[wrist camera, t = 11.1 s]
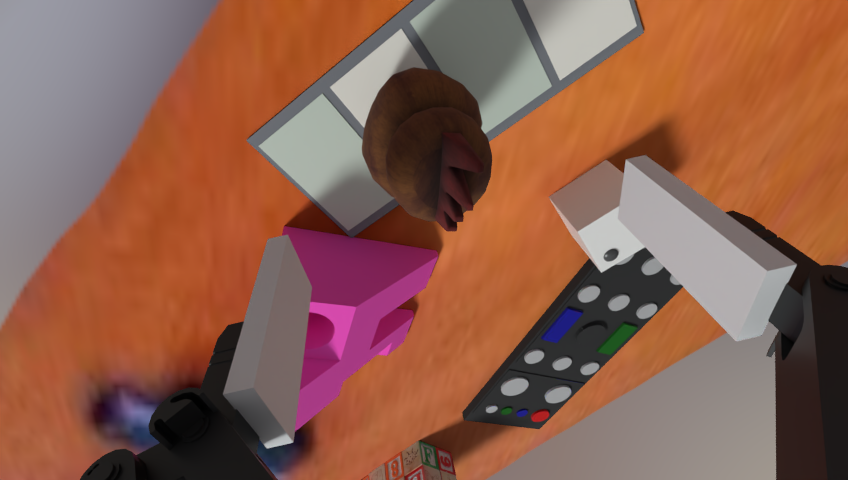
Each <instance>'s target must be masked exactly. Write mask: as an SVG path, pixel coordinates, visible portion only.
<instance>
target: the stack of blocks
mask: <svg viewBox="0 0 848 480" xmlns="http://www.w3.org/2000/svg"><path fill="white" fill-rule="evenodd" d="M361 480H457V479H456V474H455V469H454V465H453V460H452V455H451V453H450V452H448V451H445V450H442V449H440V448H437V447H434V446H431V445H429V444H426V443H424V442H421V441H417V442H416V443H414V444H413V445H411V446H410V447H408V448H407V449H405V450H404V451H402V452H400V453H398V454H397V455H396V456H394V457H393V458H391V459H390V460H388V461H387V462H385V463H384V464H382V465H381V466H379V467H378V468H376V469H375V470H373V471H372V472H371V473H370V474H369V475H367V476H366V477H364V478H363V479H361Z"/></svg>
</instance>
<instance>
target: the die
mask: <svg viewBox="0 0 848 480" xmlns="http://www.w3.org/2000/svg"><path fill="white" fill-rule="evenodd" d="M623 176H624V173H622V172H621V171H620V170H619V169H617V168H616V167H615V166H614V165H612V164H611V163H610V162H609V161H607V160H605V161H603V162H602V163H600V164H598V165H597V166H595V167H594V168H592V169H591V170H589V171H588V172H586V173H585V174H583V175H582V176H580V177H578V178H577V179H575V180H574V181H572V182H571V183H569V184H568V185H566V186H565V187H563V188H562V189H560V190H558V191H557V192H555V193H554V194H552V195H551V196H549V198H550V200H551V202H552V203H553V205H554V207H555V208H556V210H557V212H558V213H559V215H560V217H561V218H562V220H563V222H564V223H565V225H566V227H567V228H568V230H569V232H570V233H571V235H572V236H573V238H574V239H575V240H576V242H577V243H578V244H579V245H580V247H581V248H582V249H583V250H584V252H585V253H586V254H587V255H588V257H589V258H590V259H591V260H592V262H593V263H594V264H595V265H596V267H597V268H598V269H599V270H600V272H601V273H602V272H603V271H605V270H607V269H609V268H610V267H612V266H614V265H615V264H617V263H619V262H621V261H622V260H624V259H626V258H627V257H629V256H631V255H633V254H634V253H636V252H638V251H639V250H641V249H643V248H645V246H644V245H643V244H642V243H641V242H640V241H639V240H638V239H637V238H636V237H635V236H634V235H633V234H632V233H631V232H630V231H629V230H628V229H627V228H626V227H625V226H624V225H623V224H622V223H621V221H620V220H619V219H618V213H619V205H620V198H621V191H622V184H623Z"/></svg>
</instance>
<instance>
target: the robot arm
mask: <svg viewBox="0 0 848 480" xmlns="http://www.w3.org/2000/svg"><path fill="white" fill-rule="evenodd" d="M618 219H619V220H620V221H621V223H622V224H623V225H624V226H625V227H626V228H627V229H628V230H629V231H630V232H631V233H632V234H633V235H634V236H635V237H636V238H637V239H638V240H639V241H640V242H641V243H642V244H643V245H644V246H645V247H646V248H647V249H648V251H649V252H650V253H651V254H652V255H653V256H654V257H655V258H656V259H657V260H658V261H659V262H660V263H661V264H662V265H663V266H664V267H665V268H666V269H667V270H668V271H669V272H670V273H671V274H672V275H673V276H674V277H675V279H676V280H677V281H678V282H679V283H680V284H681V285H682V286H683V287H684V288H685V289H686V290H687V291H688V292H689V293H690V294H691V295H692V296H693V297H694V298H695V299H696V300H697V301H698V302H699V303H700V304H701V305H702V307H703V308H704V309H705V310H706V311H707V312H708V313H709V314H710V315H711V316H712V317H713V318H714V319H715V320H716V321H717V322H718V323H719V324H720V325H721V326H722V327H723V328H724V329H725V330H726V331H727V332H728V333H729V335H730V336H731V337H732V338H734V340H735V341H740V340H744V339H749V338H753V337H758V336H762V334H763V332H764V330H765V328H766V326H767V324H768V322H771V323H772V324H773V325H774V326H775V327H776V328H777V329H778V330H779V332H778V333H777V335H776V337H775V339H774V341H773V343H772V344H771V346H770V348H769V350H768V353H767V356H769V357H771V356H772V355H773V352H775V357H776V358H775V360H776V361H775V367H776V368H775V370H776V478H777V479H776V480H848V268H846V267H842V266H835V265H823V266H821V265H819V264H818V263H816V262H815V261H813V260H812V259H811V258H809V257H808V256H806V255H805V254H803V253H802V252H800V251H799V250H797V249H796V248H795V247H793V246H792V245H790V244H789V243H787V242H786V241H784V240H783V239H781V238H780V237H779V238H777V235H776V234H774V233H773V232H771V231H770V230H768V229H767V230H766V229H765V227H764V226H763V225H761V224H760V223H758V222H757V221H755V220H754V219H752V218H751V217H748V216H745V215H743V214H740V213H738V212H735V211H729V212H724V211H722V210H721V209H720V208H718V207H717V206H715V205H714V204H713V203H711V202H710V201H708V200H707V199H706V198H704V197H703V196H702V195H700V194H699V193H697V192H696V191H695V190H693V189H692V188H690V187H689V186H688V185H686V184H685V183H683V182H682V181H681V180H679V179H678V178H677V177H675V176H674V175H672V174H671V173H670V172H668V171H667V170H665V169H664V168H663V167H661V166H660V165H659V164H657V163H656V162H654V161H653V160H652V159H650V158H649V157H647V156H646V155H643V156H639V157H634V158H630V159H626V162H625V169H624V176H623V184H622V191H621V198H620V205H619V213H618ZM311 292H312V286H311V284H310V281H309V279H308V277H307V275H306V273H305V271H304V268H303V266H302V264H301V262H300V260H299V258H298V255H297V253H296V251H295V249H294V247H293V245H292V243H291V240H290V238H289V236H288V235H284V236H279V237H275V238H270V239H268V240H267V244H266V247H265V251H264V254H263V258H262V261H261V265H260V268H259V271H258V275H257V278H256V282H255V285H254V289H253V292H252V296H251V299H250V303H249V306H248V309H247V313H246V316H245V320H244V322H239V323H235V324H231V325H228V326H227V327H226V329H225V330H224V331H223V333H222V334H221V335H220V336H219V338H218V339H217V342H216V345H215V348H214V351H213V356H212V357H211V360H210V363H209V367H208V369H207V371H206V374H205V377H204V380H203V383H202V386H201V389H200V390H199V389H198V388H186V389H183V390H180V391H178V392H176V393H174V394H173V395H171V396H169V397H168V398H167V399H166V400H164V401H163V402H162V403H161V404H160V405H159V406H158V407H157V409H156V410H155V412H154V413H153V415H152V416H151V420H150V423H149V431H150V434H151V435H152V436H153V437H154V438H155V439H157V440H158V441H159V442H160V443H159V444H157V445H155V446H153V447H151V448H150V449H148V450H146V451H144V452H142V453H140V454H138V455H135V454H134V453H132V452H131V451H129V450H127V449H119V450H114V451H112V452H110V453H108V454H105V455H104V456H102V457H101V458H100V459H98V460H97V461H96V462H94V463H93V464H92V465H91V466H90V467H89V468H88V469H87V470H86V472H85V473H84V474H83V475H82V477H81V479H80V480H278V479H277V478H276V477H275V476H274V474H273V473H272V472H271V471H270V469H269V468H268V467H267V466H266V464H265V463H264V462H263V461H262V459H261V458H260V457H259V456H258V454H257V448H258V442H259V439H260V440H261V442H262V443H263V444H264V445H265V446H266V448H271V447H276V446H280V445H285V444H289V443H293V441H294V433H295V425H296V416H297V408H298V400H299V392H300V383H301V375H302V367H303V358H304V350H305V342H306V333H307V325H308V317H309V309H310V300H311Z"/></svg>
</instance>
